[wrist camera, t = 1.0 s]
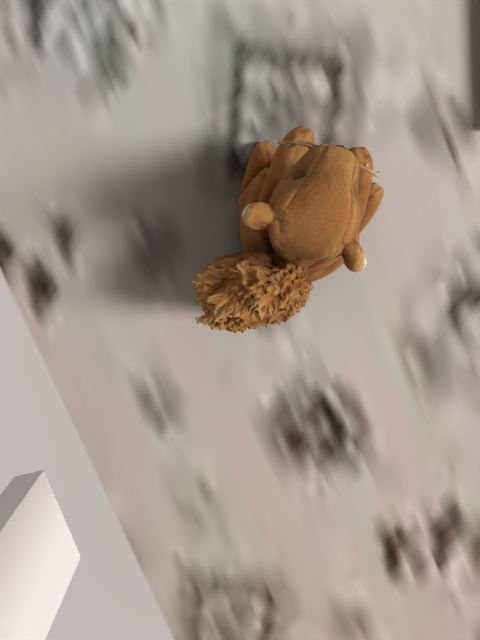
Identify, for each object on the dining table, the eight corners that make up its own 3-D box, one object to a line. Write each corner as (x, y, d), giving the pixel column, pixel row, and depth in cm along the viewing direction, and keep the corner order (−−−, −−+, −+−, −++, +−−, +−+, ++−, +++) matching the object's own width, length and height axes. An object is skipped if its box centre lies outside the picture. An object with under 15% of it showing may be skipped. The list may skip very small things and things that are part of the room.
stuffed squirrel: (388, 183, 33) (480, 175, 20) (295, 343, 36) (324, 421, 24) (270, 116, 32) (289, 62, 19) (185, 288, 35) (153, 339, 22)
